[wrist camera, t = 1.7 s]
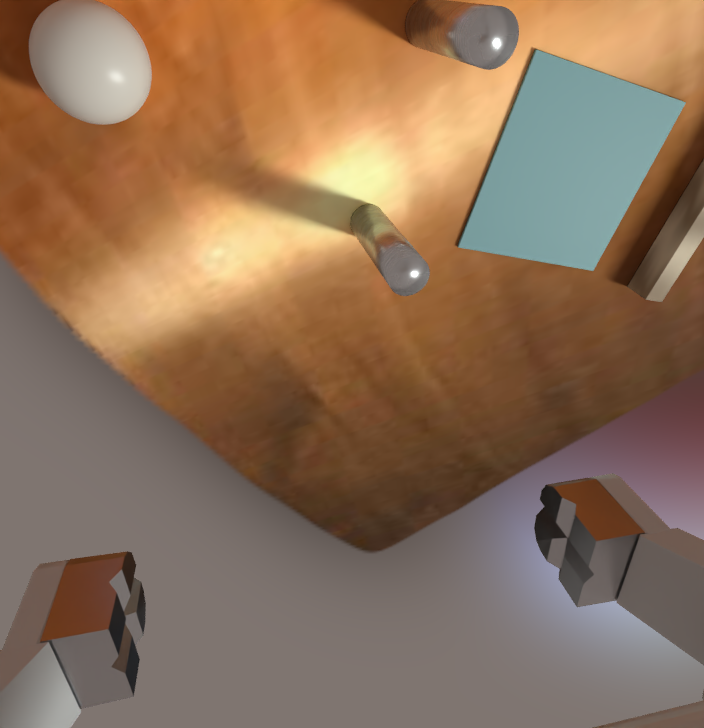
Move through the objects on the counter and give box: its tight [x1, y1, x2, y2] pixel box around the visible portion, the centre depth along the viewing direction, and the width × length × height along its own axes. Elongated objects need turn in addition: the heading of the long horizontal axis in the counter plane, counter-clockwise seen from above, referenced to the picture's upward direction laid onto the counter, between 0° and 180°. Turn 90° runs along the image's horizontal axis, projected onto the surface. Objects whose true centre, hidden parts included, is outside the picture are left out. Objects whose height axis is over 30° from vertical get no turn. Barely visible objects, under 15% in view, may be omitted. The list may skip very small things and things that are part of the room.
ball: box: [29, 0, 152, 124], centre depth 27 cm, size 6×6×6 cm
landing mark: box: [458, 49, 686, 271], centre depth 41 cm, size 14×14×1 cm
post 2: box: [405, 0, 519, 70], centre depth 29 cm, size 3×3×9 cm
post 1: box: [350, 204, 430, 296], centre depth 36 cm, size 3×3×9 cm
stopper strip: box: [627, 159, 704, 302], centre depth 45 cm, size 16×2×2 cm, turn 164°
